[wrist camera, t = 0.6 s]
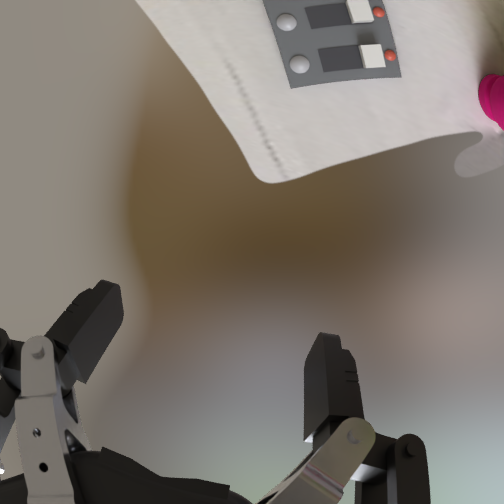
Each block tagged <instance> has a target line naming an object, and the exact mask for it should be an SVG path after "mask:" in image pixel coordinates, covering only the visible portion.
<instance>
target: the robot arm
mask: <svg viewBox="0 0 504 504" xmlns="http://www.w3.org/2000/svg"><path fill="white" fill-rule="evenodd" d="M123 316H124V311H123V305H122V298H121V290H120V286H119V285H118V284H115V283H112V282H109V281H105V280H100V281H99V282H98V284H97V285H96V286H95V287H94V288H93V289H90V288H89V289H87V290H85V291H83V292H82V293H80V294H79V295H78V296H77V297H76V298H75V299H74V300H73V301H72V304H70V305H69V306H68V307H67V309H66V311H64V312H63V313H62V315H61V316H60V317H59V318H58V319H57V321H56V322H55V323H54V324H53V326H52V327H51V328H50V329H49V331H48V332H47V333H46V334H45V335H44V336H35V337H32V338H30V339H28V340H27V341H26V342H21V341H15V340H11V339H9V337H8V335H7V333H6V331H5V330H3V329H1V328H0V375H1V377H2V378H1V380H0V453H1V450H2V448H3V445H4V443H5V441H6V438H7V436H8V434H9V432H10V429H11V427H12V425H13V423H14V421H15V419H16V428H17V436H18V444H19V450H20V456H21V461H22V467H23V471H24V473H23V474H20V475H17V476H14V477H11V478H8V479H5V480H2V481H1V479H0V504H252V503H251V502H250V501H249V500H247V499H246V498H244V497H243V496H241V495H239V494H237V493H235V492H233V491H230V490H229V488H230V485H225V484H219V483H214V482H209V481H204V480H200V479H188V478H169V477H161V476H159V475H157V474H155V473H153V472H152V471H150V470H148V469H147V468H145V467H144V466H142V465H140V464H139V463H137V462H135V461H134V460H133V459H131V458H129V457H126V456H124V455H121V454H119V453H116V452H114V451H111V450H109V449H107V448H105V447H102V449H101V452H100V451H92V450H91V446H90V443H89V441H88V438H87V436H86V434H85V432H84V430H83V427H82V423H81V419H80V415H79V410H78V405H77V400H76V394H75V389H74V386H73V385H74V383H75V382H76V380H79V381H81V382H83V383H85V384H86V382H87V380H88V379H89V377H90V375H91V374H92V372H93V370H94V368H95V367H96V365H97V363H98V362H99V360H100V358H101V357H102V355H103V353H104V352H105V350H106V348H107V347H108V345H109V343H110V342H111V340H112V339H113V337H114V335H115V334H116V332H117V330H118V329H119V328H120V326H121V323H122V321H123ZM358 381H359V380H358V375H357V368H356V362H355V360H354V358H353V356H352V355H351V353H350V351H349V350H345V349H342V347H341V341H340V337H339V335H334V334H327V333H322V332H320V333H319V334H318V336H317V338H316V340H315V342H314V344H313V346H312V348H311V350H310V352H309V354H308V356H307V358H306V361H305V366H304V442H313V450H312V451H311V452H310V453H309V454H308V455H307V456H306V457H305V458H304V459H303V460H302V461H301V463H300V464H299V465H298V466H297V467H296V468H295V469H294V470H293V471H292V472H291V473H290V474H289V475H288V476H287V477H286V478H285V479H284V480H282V481H281V483H279V484H278V485H277V486H276V487H275V488H273V489H272V490H271V491H269V492H268V493H267V494H266V495H265V496H264V497H263V498H262V499H260V500H259V501H258V502H257V503H256V504H337V503H338V502H339V501H340V499H341V498H342V496H343V488H344V487H345V485H346V484H347V482H348V481H349V480H350V479H352V480H355V504H430V503H431V501H430V485H429V475H428V464H427V456H426V449H425V445H424V443H423V441H422V440H421V439H420V438H419V437H418V436H416V435H414V434H405V435H403V436H401V437H400V438H398V439H395V438H391V437H387V436H384V435H381V434H378V433H376V432H375V431H374V429H373V427H372V426H371V424H370V423H369V422H367V421H366V420H365V419H364V414H363V406H362V399H361V392H360V386H359V383H358ZM3 472H4V466H3V464H2V463H1V460H0V474H1V473H3Z"/></svg>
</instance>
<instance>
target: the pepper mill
mask: <svg viewBox="0 0 504 504" xmlns="http://www.w3.org/2000/svg"><path fill="white" fill-rule="evenodd" d="M479 101H480V105H481V107H482V109H483V111H484V113H485V114H486V115H487V116H488V117H489V118H490V119H492V120H493V121H495V122H497V123H498V125H499V126H500V127H501V128H502V129H503V130H504V75H503V76H499V75H495V74H490V75H487V76H486V77H484V78H483V80H482V81H481V83H480V86H479Z"/></svg>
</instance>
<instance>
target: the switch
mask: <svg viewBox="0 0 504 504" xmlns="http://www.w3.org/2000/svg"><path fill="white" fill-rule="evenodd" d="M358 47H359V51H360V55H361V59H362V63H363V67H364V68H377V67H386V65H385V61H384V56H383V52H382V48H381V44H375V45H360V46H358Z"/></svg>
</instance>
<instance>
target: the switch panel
mask: <svg viewBox="0 0 504 504" xmlns="http://www.w3.org/2000/svg"><path fill="white" fill-rule="evenodd" d="M346 1H347V0H263V3H264V6H265V9H266V11H267V14H268V17H269V20H270V23H271V26H272V29H273V32H274V35H275V38H276V41H277V44H278V47H279V50H280V53H281V57H282V60H283V63H284V67H285V70H286V73H287V77H288V80H289V84H290V87H291V89H292V88H297V87H303V86H309V85H316V84H323V83H331V82H339V81H348V80H359V79H373V78H397V77H401V72H400V67H399V62H398V57H397V52H396V48H395V44H394V40H393V36H392V32H391V28H390V24H389V21H388V18H387V14H386V11H385V8H384V5H383V2H382V0H368V2H369V5H370V8H371V12H372V15H373V18H374V21H372V22H366V23H352V22H351V19H350V15H349V12H348V9H347V6H346ZM375 44H381V48H382V52H383V56H384V61H385V65H386V67H377V68H364V67H363V63H362V59H361V55H360V51H359V47H358V46H360V45H375Z"/></svg>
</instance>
